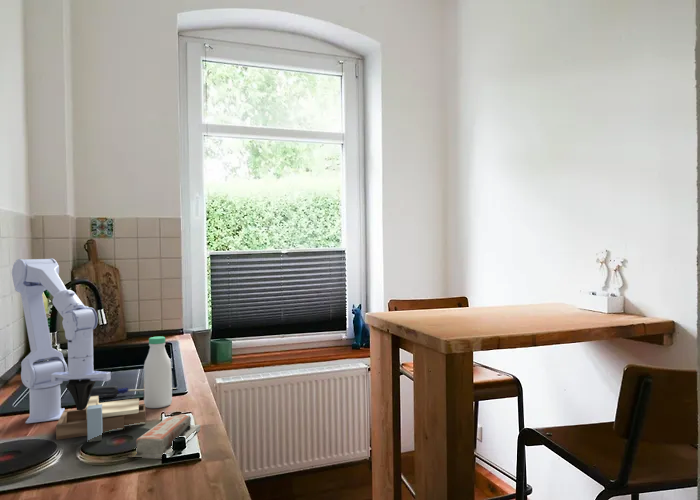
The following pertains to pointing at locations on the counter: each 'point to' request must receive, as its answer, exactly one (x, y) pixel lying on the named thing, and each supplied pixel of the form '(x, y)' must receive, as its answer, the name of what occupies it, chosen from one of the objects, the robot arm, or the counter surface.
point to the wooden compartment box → (76, 422)
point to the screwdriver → (110, 391)
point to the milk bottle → (157, 375)
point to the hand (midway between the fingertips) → (81, 408)
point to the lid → (115, 406)
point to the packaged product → (164, 436)
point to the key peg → (94, 421)
